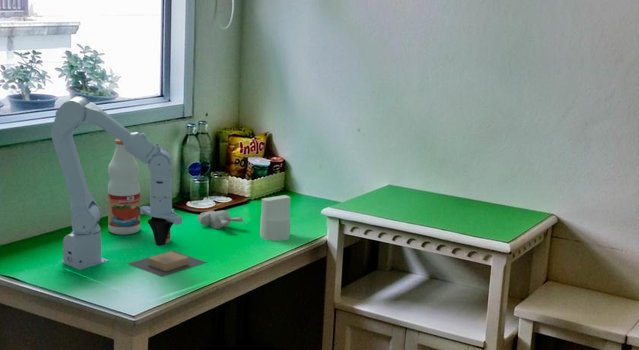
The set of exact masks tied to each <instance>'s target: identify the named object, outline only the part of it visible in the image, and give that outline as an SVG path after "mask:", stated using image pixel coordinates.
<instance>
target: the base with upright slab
mask: <svg viewBox="0 0 639 350" xmlns="http://www.w3.org/2000/svg"><path fill="white" fill-rule="evenodd" d="M259 229H260V230H259V233H260V234H259V235H260V238H261V239H263V240H266V241H272V242H274V241H275V242H279V241H285V240H288V239H290V238H291V237H290V236H291V197H290V196H289V195H286V194H283V195H282V194H281V195H278V196H271V197H264V198H261V216H260V228H259Z"/></svg>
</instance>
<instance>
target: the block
mask: <svg viewBox="0 0 639 350" xmlns="http://www.w3.org/2000/svg"><path fill="white" fill-rule="evenodd" d="M170 251H171V252H169V251H167V253H166V252H163V253H164V254H162V253H159V254H160V255H159V254H156V255H157V256H155V255H152V256H153V257H152V256H149V257H150V258H148V257H147V258H148V265H149V266H152V267H155V268H158V269H160V270H163V271H169V270H172V269H176V268H179V267H182V266H185V265H188V264H189V257H187V256H188V255H187V256H184V255H185V254H184V255H181V254H182V253H181V254H178V253H179V252H178V253H175V252H172V251H173V250H170Z"/></svg>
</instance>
